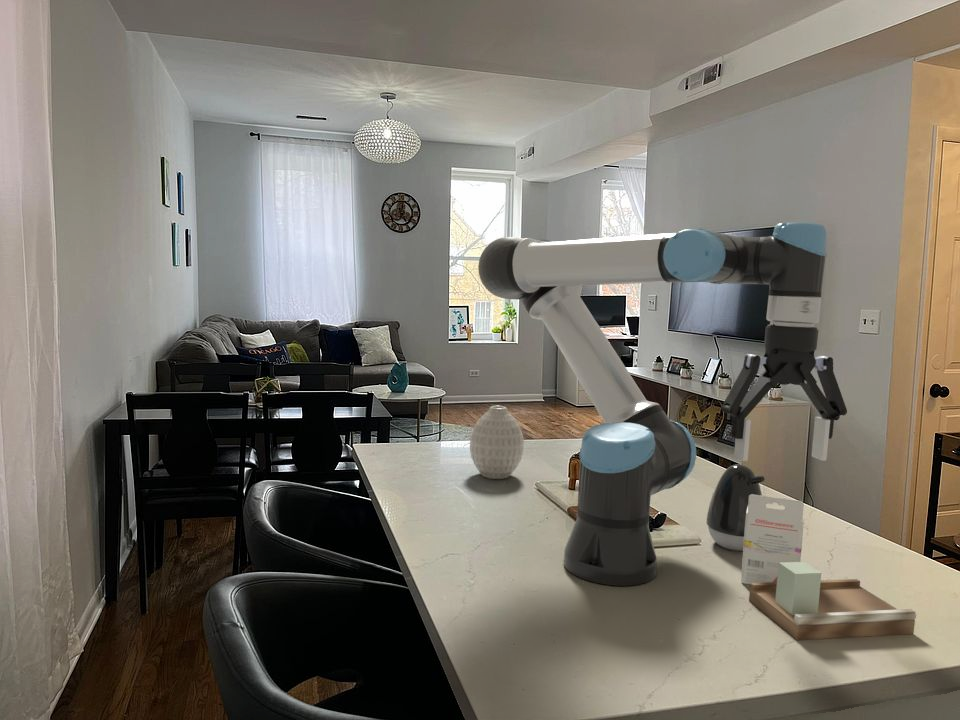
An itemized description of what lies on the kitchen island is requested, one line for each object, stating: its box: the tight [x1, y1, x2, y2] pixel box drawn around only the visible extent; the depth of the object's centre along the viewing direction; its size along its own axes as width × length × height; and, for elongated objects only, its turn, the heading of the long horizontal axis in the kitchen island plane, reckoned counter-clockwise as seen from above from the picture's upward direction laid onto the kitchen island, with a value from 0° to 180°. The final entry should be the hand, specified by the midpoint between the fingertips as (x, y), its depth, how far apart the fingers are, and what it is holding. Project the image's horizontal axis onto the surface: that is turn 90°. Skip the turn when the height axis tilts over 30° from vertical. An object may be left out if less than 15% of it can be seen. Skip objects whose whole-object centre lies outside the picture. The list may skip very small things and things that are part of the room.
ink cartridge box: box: [740, 494, 805, 586], centre depth 116 cm, size 9×5×15 cm, turn 68°
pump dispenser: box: [705, 463, 766, 552], centre depth 132 cm, size 10×10×15 cm
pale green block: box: [775, 561, 822, 615], centre depth 103 cm, size 4×4×6 cm
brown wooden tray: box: [748, 578, 917, 641], centre depth 105 cm, size 18×12×3 cm
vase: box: [469, 405, 525, 480], centre depth 173 cm, size 13×13×17 cm
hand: (780, 459), depth 115 cm, fingers open, 13 cm apart
